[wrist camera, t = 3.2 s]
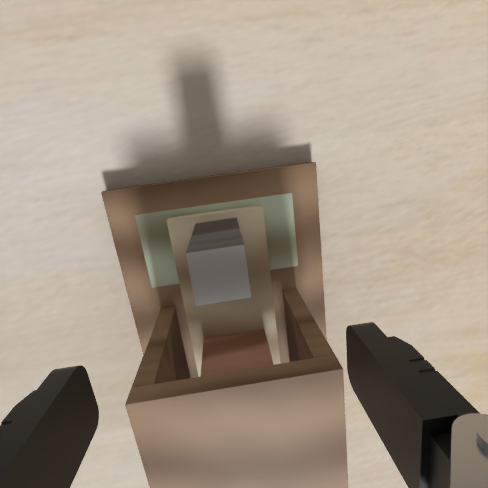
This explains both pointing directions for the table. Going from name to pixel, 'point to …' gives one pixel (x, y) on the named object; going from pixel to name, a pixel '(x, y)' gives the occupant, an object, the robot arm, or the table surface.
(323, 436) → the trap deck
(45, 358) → the table surface
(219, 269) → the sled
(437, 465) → the robot arm
